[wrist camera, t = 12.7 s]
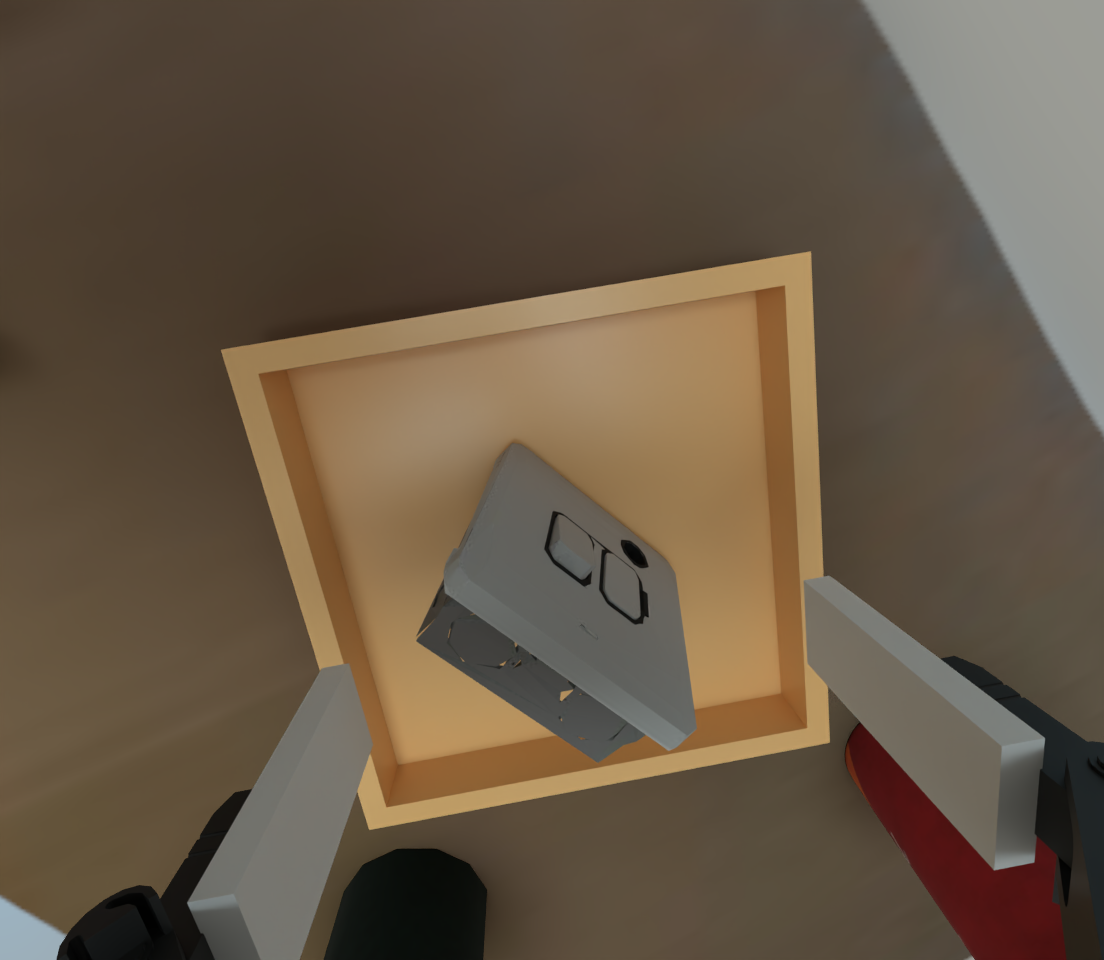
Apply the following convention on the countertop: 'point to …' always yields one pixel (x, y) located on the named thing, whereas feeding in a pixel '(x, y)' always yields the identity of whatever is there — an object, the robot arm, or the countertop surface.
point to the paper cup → (961, 865)
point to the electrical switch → (564, 614)
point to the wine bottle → (411, 910)
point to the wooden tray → (586, 462)
